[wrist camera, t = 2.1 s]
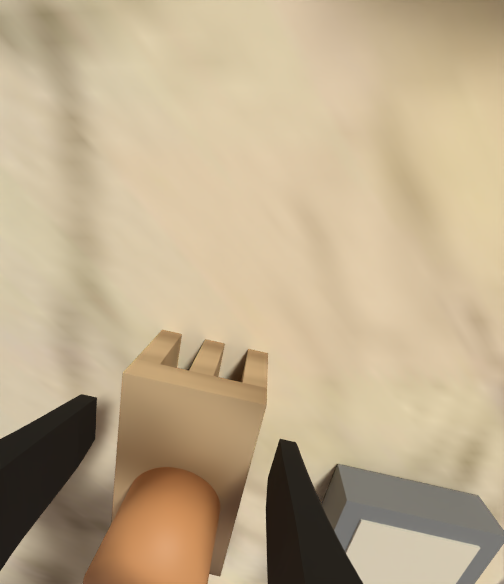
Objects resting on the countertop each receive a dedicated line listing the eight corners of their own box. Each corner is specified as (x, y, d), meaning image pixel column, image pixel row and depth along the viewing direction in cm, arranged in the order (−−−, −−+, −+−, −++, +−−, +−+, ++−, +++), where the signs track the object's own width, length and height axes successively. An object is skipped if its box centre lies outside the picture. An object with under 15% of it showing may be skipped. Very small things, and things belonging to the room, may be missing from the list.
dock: (399, 620, 19) (414, 669, 17) (285, 594, 19) (287, 640, 17) (478, 495, 15) (510, 539, 13) (337, 463, 15) (347, 502, 13)
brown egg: (212, 543, 12) (194, 645, 9) (126, 524, 12) (82, 619, 10) (227, 479, 11) (211, 573, 8) (132, 457, 11) (83, 543, 8)
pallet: (231, 492, 17) (220, 576, 13) (146, 473, 17) (109, 551, 13) (268, 351, 14) (266, 405, 10) (164, 328, 14) (122, 372, 10)
